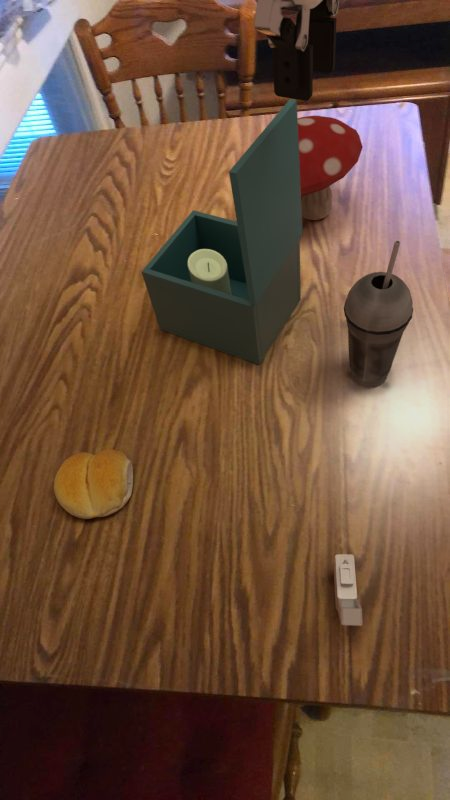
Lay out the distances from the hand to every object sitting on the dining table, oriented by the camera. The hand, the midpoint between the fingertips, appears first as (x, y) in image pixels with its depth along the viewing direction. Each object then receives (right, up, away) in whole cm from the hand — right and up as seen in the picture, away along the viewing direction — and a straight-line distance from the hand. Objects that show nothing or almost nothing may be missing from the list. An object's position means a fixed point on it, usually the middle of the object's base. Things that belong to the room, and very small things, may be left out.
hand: (304, 80), depth 47 cm
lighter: (+5, -47, +8) cm, 48 cm away
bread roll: (-21, -37, +19) cm, 47 cm away
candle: (-8, -13, +32) cm, 36 cm away
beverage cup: (+11, -23, +23) cm, 35 cm away
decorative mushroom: (+6, +2, +42) cm, 42 cm away
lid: (-2, -6, +13) cm, 14 cm away
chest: (-6, -15, +31) cm, 35 cm away
